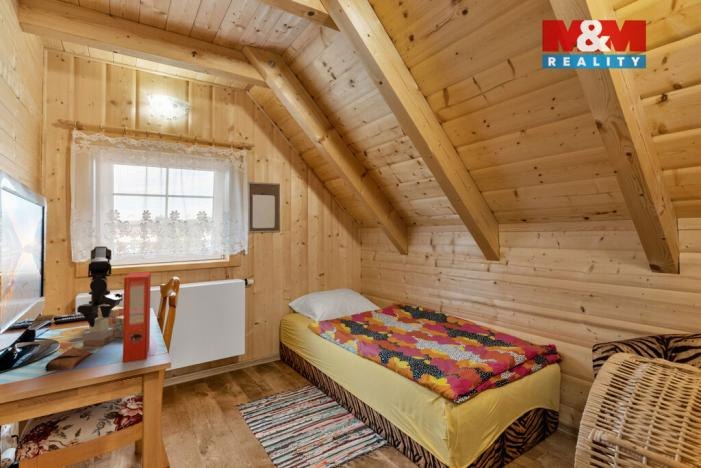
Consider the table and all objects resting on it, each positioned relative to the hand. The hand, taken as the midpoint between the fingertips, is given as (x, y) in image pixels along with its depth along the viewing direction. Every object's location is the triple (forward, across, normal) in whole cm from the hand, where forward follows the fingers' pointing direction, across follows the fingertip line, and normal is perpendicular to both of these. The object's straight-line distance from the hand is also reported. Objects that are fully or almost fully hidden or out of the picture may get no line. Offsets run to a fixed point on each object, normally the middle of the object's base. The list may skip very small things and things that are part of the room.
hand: (99, 324), depth 154 cm
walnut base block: (+9, 0, 0) cm, 9 cm away
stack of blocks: (+9, +14, +1) cm, 16 cm away
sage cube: (+3, 0, 0) cm, 3 cm away
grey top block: (+6, 0, 0) cm, 6 cm away
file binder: (+8, -14, -25) cm, 30 cm away
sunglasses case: (+9, -22, -5) cm, 24 cm away
